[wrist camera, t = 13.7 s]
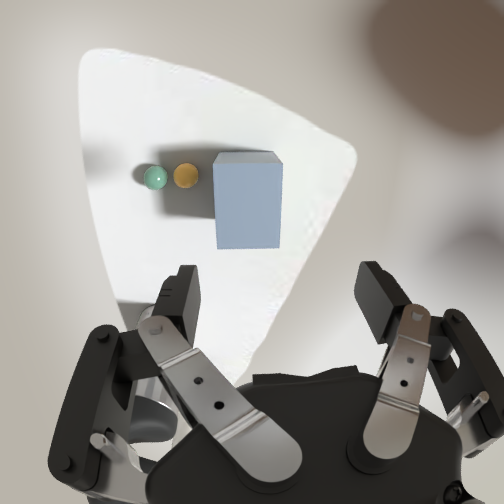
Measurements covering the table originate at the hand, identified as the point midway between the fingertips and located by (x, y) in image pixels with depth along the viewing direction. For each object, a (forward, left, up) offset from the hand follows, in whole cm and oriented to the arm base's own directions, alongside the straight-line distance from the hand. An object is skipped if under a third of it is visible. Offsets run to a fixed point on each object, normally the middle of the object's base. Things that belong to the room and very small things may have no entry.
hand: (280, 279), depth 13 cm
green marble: (0, +12, -21) cm, 24 cm away
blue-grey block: (-2, +1, -22) cm, 22 cm away
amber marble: (0, +8, -21) cm, 22 cm away
